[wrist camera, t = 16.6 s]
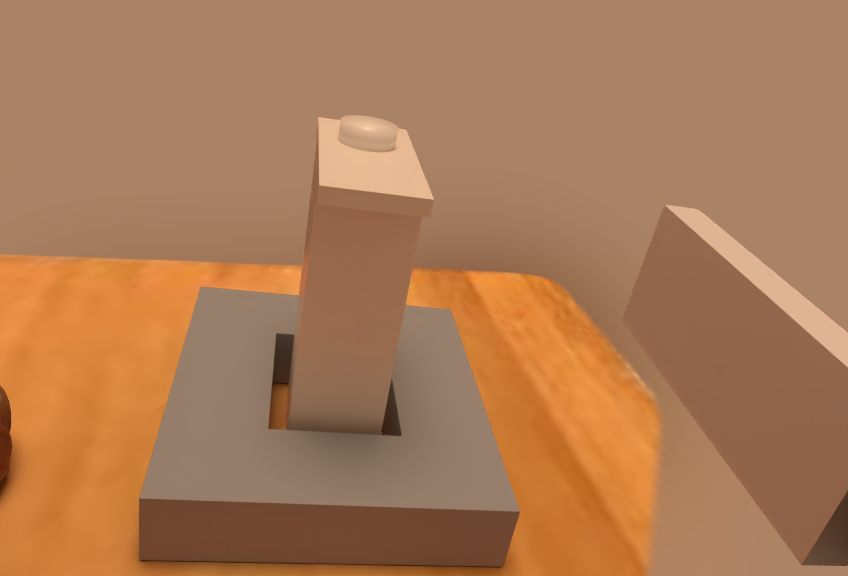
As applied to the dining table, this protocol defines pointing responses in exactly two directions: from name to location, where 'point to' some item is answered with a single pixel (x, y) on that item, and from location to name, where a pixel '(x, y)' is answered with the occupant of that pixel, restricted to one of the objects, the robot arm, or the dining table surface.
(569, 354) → the dining table surface
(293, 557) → the frame
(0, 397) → the bread roll
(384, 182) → the cream block
